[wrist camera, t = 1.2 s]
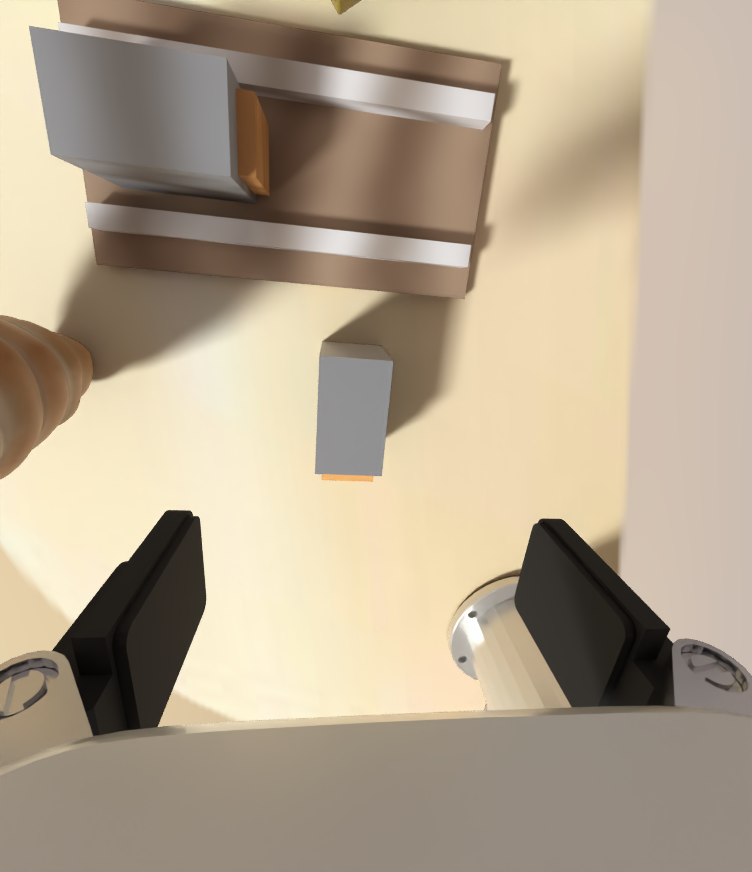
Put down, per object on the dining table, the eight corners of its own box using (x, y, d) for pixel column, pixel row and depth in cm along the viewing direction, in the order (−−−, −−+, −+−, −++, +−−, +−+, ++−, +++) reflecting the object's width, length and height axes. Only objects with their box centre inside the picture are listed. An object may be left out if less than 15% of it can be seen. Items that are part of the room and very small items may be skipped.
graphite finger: (381, 345, 27) (393, 361, 21) (371, 449, 30) (380, 487, 24) (322, 340, 26) (319, 355, 21) (318, 447, 29) (314, 485, 24)
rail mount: (494, 73, 22) (562, -16, 16) (460, 298, 26) (501, 302, 20) (68, 0, 19) (-66, -145, 13) (106, 265, 23) (19, 257, 17)
